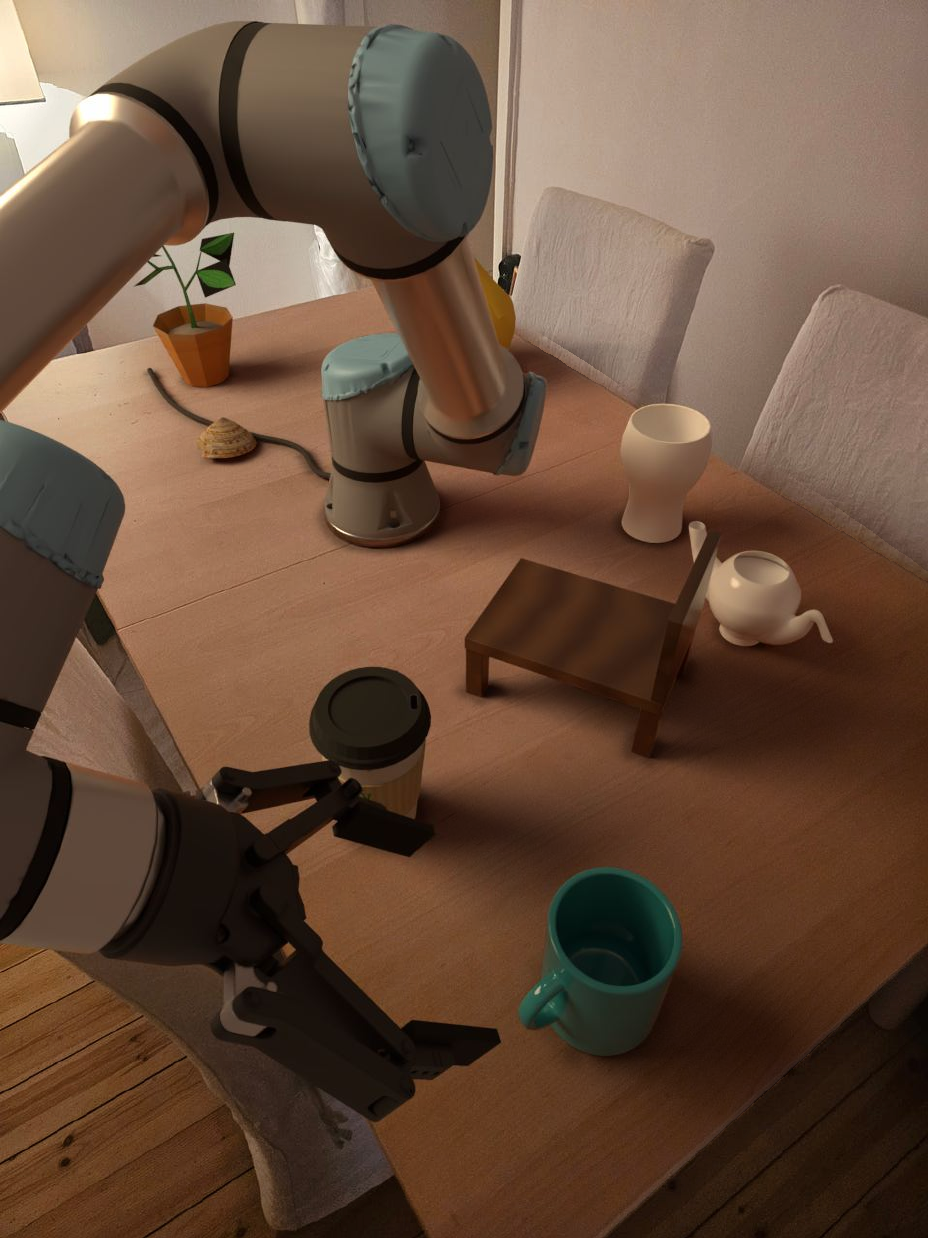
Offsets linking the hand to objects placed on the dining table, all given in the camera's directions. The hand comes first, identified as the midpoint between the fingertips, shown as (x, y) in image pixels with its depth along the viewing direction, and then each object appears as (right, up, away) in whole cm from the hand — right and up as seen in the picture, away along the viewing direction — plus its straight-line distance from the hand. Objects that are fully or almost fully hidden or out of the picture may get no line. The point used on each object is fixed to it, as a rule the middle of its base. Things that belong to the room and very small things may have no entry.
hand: (449, 934), depth 50 cm
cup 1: (+10, -10, +12) cm, 19 cm away
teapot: (+32, +18, +43) cm, 56 cm away
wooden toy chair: (+13, +13, +37) cm, 41 cm away
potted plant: (-43, +60, +89) cm, 115 cm away
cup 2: (+25, +31, +57) cm, 70 cm away
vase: (0, +61, +89) cm, 108 cm away
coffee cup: (-7, +1, +25) cm, 26 cm away
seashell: (-34, +44, +72) cm, 91 cm away
